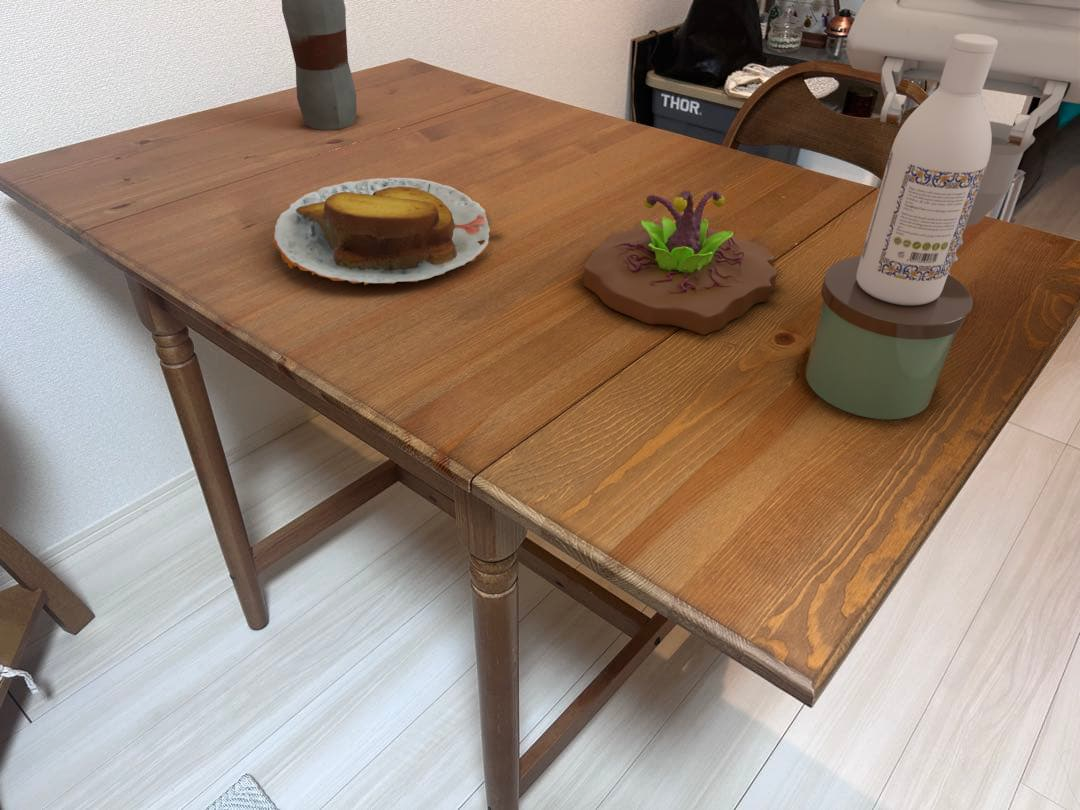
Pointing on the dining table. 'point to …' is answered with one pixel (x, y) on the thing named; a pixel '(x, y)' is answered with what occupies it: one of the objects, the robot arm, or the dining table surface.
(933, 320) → the canister
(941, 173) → the bath foam
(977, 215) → the chalice
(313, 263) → the food on plate
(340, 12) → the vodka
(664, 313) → the plant
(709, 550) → the dining table surface
